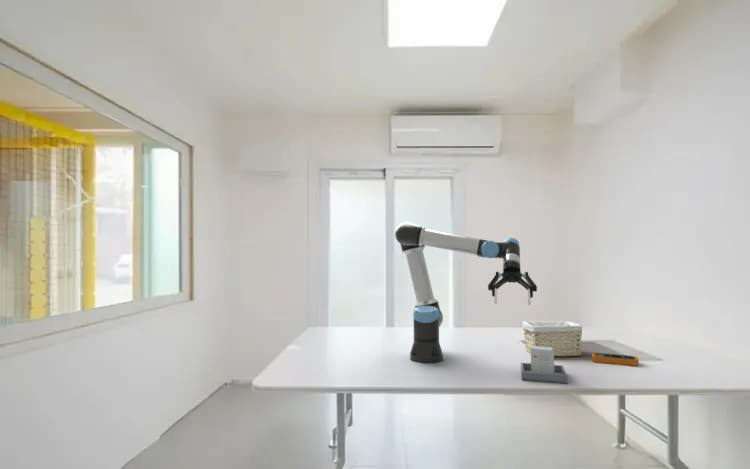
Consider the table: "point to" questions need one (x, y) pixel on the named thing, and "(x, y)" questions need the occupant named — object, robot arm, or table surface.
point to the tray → (544, 374)
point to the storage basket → (554, 336)
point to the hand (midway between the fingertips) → (512, 302)
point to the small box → (542, 360)
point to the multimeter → (615, 359)
